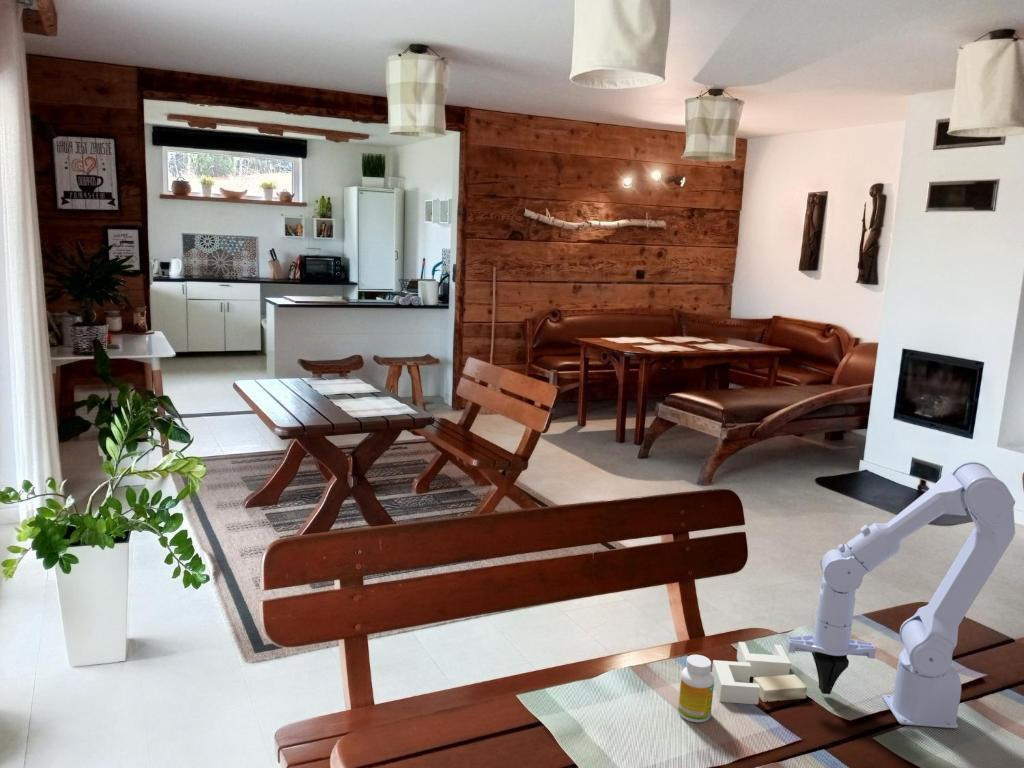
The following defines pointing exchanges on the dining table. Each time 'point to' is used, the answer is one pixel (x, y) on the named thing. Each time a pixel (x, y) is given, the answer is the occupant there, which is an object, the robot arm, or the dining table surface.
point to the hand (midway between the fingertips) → (824, 690)
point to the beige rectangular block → (780, 688)
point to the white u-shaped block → (764, 661)
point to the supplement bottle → (696, 689)
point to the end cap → (734, 682)
